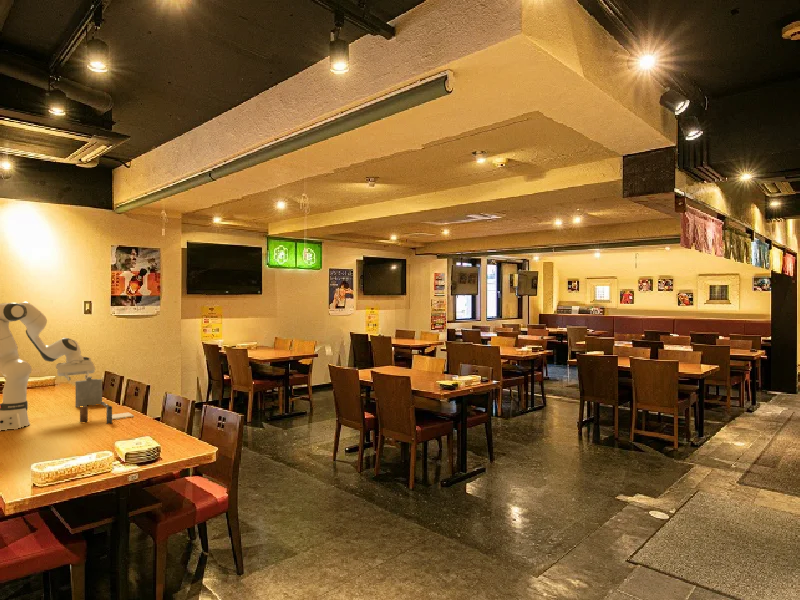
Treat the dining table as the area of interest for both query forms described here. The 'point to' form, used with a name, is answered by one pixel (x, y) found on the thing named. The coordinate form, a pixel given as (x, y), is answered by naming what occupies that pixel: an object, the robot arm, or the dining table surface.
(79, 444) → the dining table surface
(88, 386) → the hip flask
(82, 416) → the walnut peg
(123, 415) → the plate
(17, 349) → the robot arm
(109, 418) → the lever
